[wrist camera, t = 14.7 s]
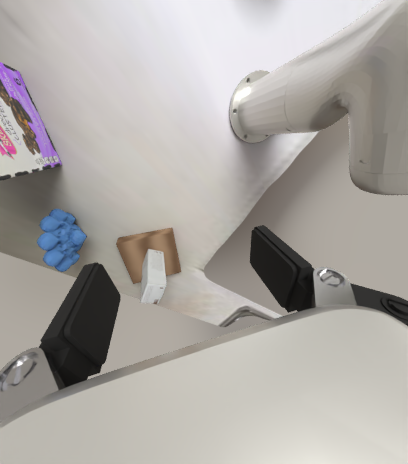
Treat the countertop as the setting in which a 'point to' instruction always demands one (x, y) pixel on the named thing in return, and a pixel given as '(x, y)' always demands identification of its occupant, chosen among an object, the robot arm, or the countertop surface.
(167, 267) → the walnut board
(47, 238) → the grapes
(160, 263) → the skincare box
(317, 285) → the robot arm
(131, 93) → the countertop surface
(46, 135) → the candy box
